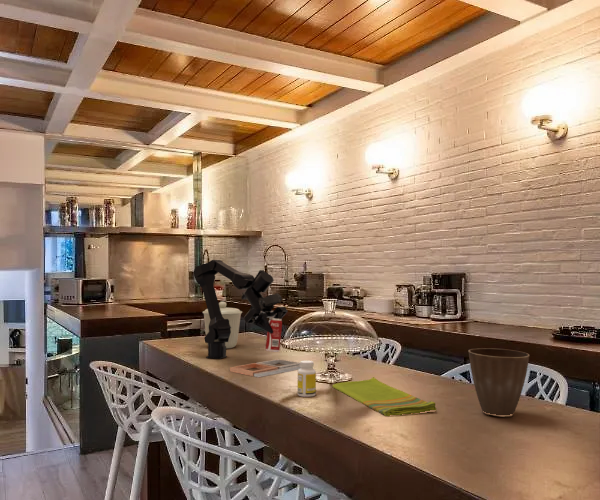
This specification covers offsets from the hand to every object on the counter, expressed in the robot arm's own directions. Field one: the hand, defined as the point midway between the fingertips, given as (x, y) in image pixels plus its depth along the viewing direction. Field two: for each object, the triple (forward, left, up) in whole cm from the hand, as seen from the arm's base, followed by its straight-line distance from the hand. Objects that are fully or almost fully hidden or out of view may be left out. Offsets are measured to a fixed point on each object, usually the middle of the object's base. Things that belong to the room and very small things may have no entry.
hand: (277, 332), depth 204 cm
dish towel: (+44, -32, -14) cm, 57 cm away
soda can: (-2, -1, -7) cm, 7 cm away
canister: (-43, +38, -13) cm, 59 cm away
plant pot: (+76, -37, -13) cm, 86 cm away
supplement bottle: (+23, -36, -13) cm, 45 cm away
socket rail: (-2, -3, -13) cm, 14 cm away
